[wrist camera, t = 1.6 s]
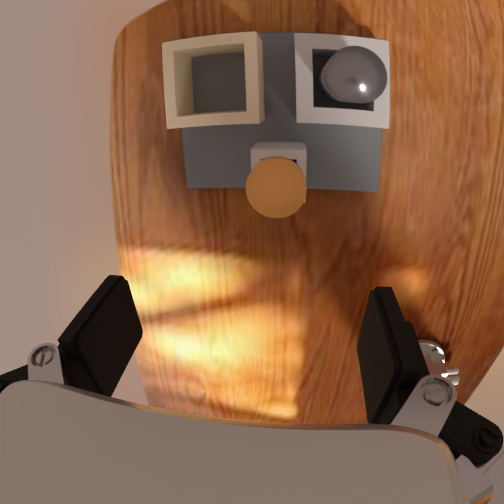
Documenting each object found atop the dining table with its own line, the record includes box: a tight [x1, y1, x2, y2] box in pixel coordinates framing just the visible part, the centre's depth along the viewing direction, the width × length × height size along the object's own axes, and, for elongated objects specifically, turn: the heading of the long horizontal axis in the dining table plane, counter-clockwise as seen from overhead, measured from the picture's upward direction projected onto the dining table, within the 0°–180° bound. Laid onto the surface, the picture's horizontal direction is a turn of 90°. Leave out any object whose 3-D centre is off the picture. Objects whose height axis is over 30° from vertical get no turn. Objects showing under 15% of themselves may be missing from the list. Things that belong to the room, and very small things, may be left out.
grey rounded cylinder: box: [317, 46, 387, 103], centre depth 21 cm, size 4×4×10 cm
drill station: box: [162, 31, 390, 203], centre depth 26 cm, size 20×16×6 cm
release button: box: [246, 156, 307, 218], centre depth 25 cm, size 4×4×6 cm
